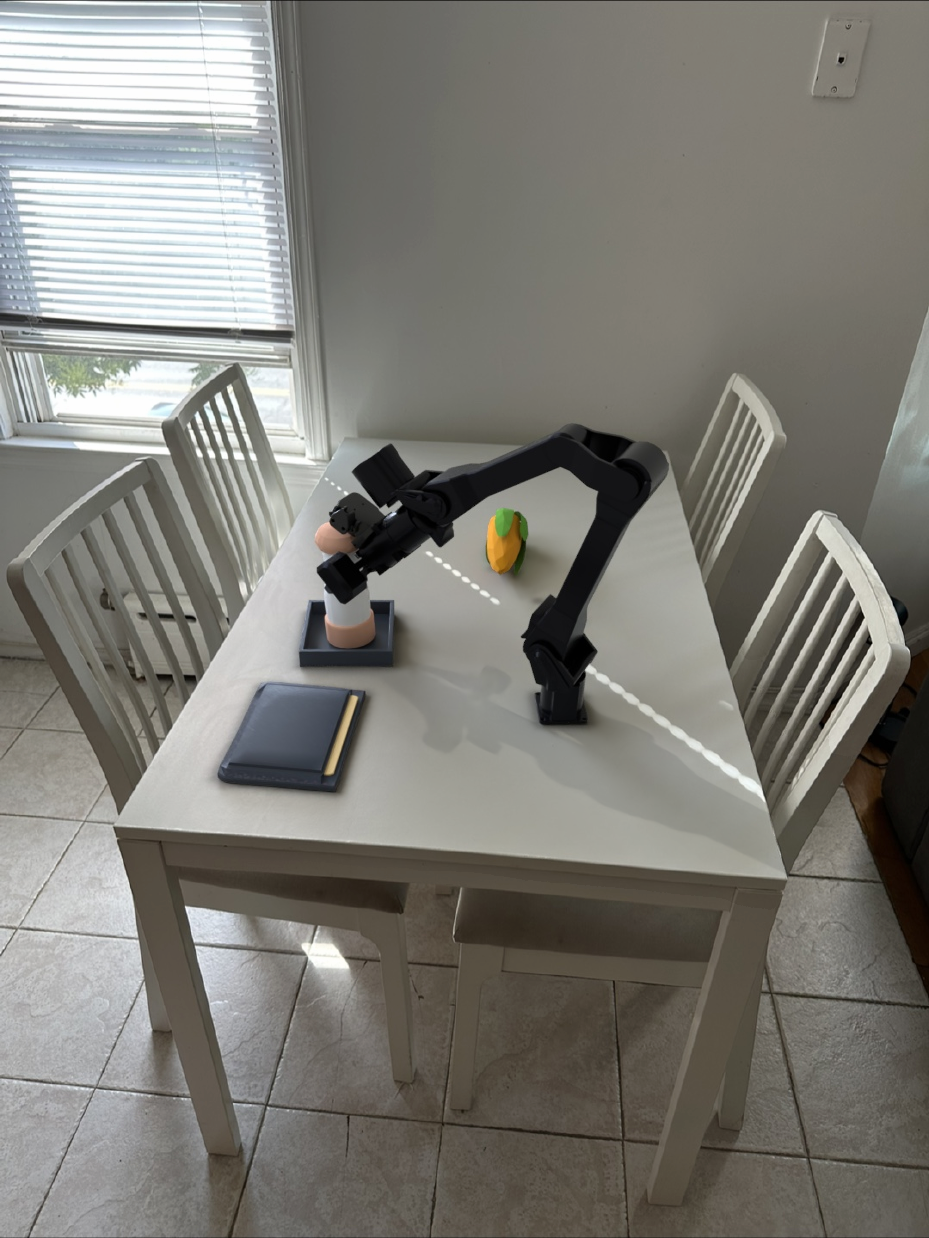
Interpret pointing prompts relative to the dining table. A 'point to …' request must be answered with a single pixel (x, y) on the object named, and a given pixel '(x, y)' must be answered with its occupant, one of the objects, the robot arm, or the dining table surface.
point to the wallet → (293, 737)
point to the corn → (506, 540)
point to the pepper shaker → (356, 617)
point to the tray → (325, 654)
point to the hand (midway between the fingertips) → (338, 581)
